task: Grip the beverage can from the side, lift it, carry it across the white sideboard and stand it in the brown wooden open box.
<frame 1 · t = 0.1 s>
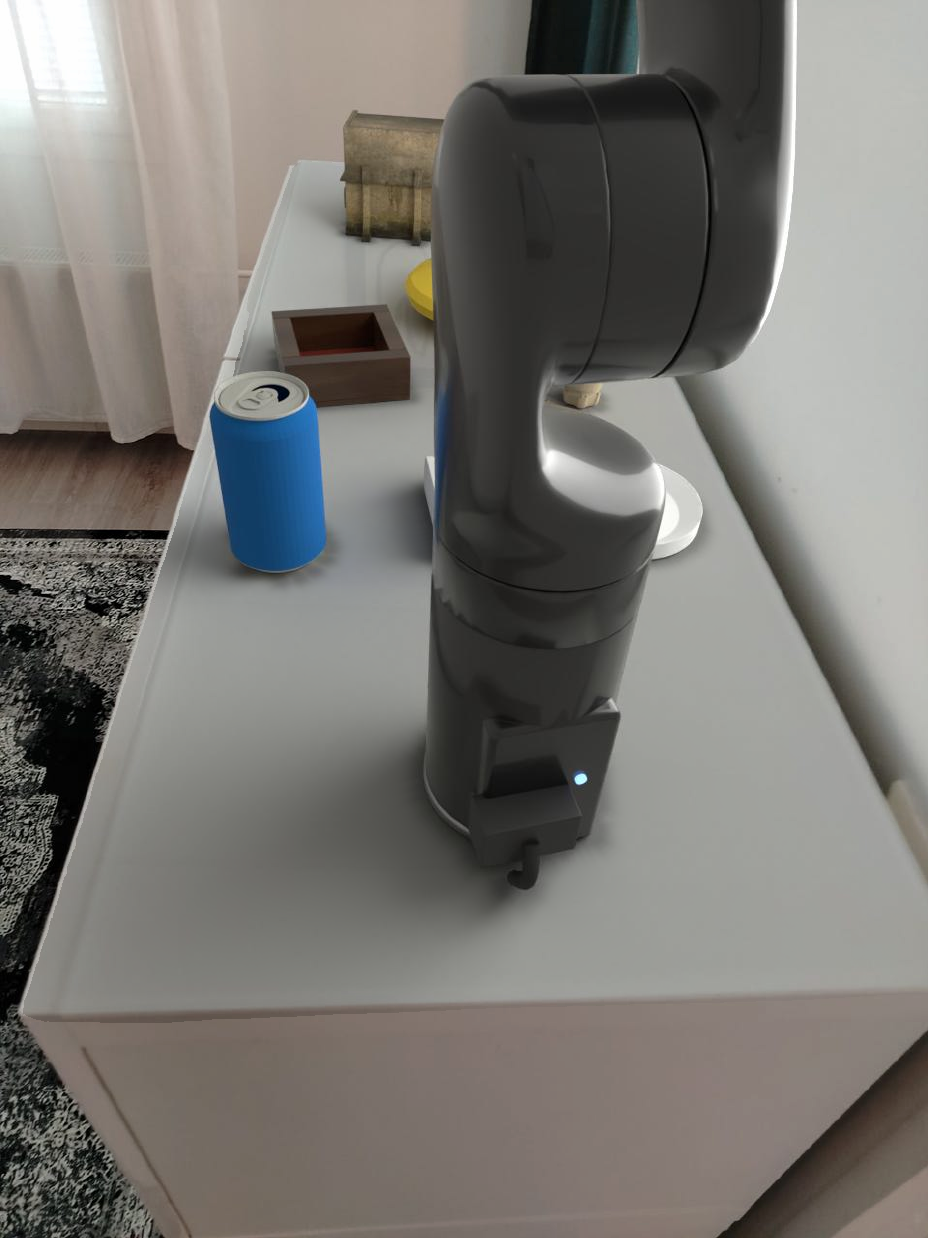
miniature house: (407, 223, 110), on the cabinet
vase: (482, 317, 91), on the cabinet
brown wooden open box: (340, 375, 81), on the cabinet
white flat rounded piece: (565, 518, 67), on the cabinet
beverage can: (279, 552, 62), on the cabinet
handle: (579, 402, 79), on the cabinet
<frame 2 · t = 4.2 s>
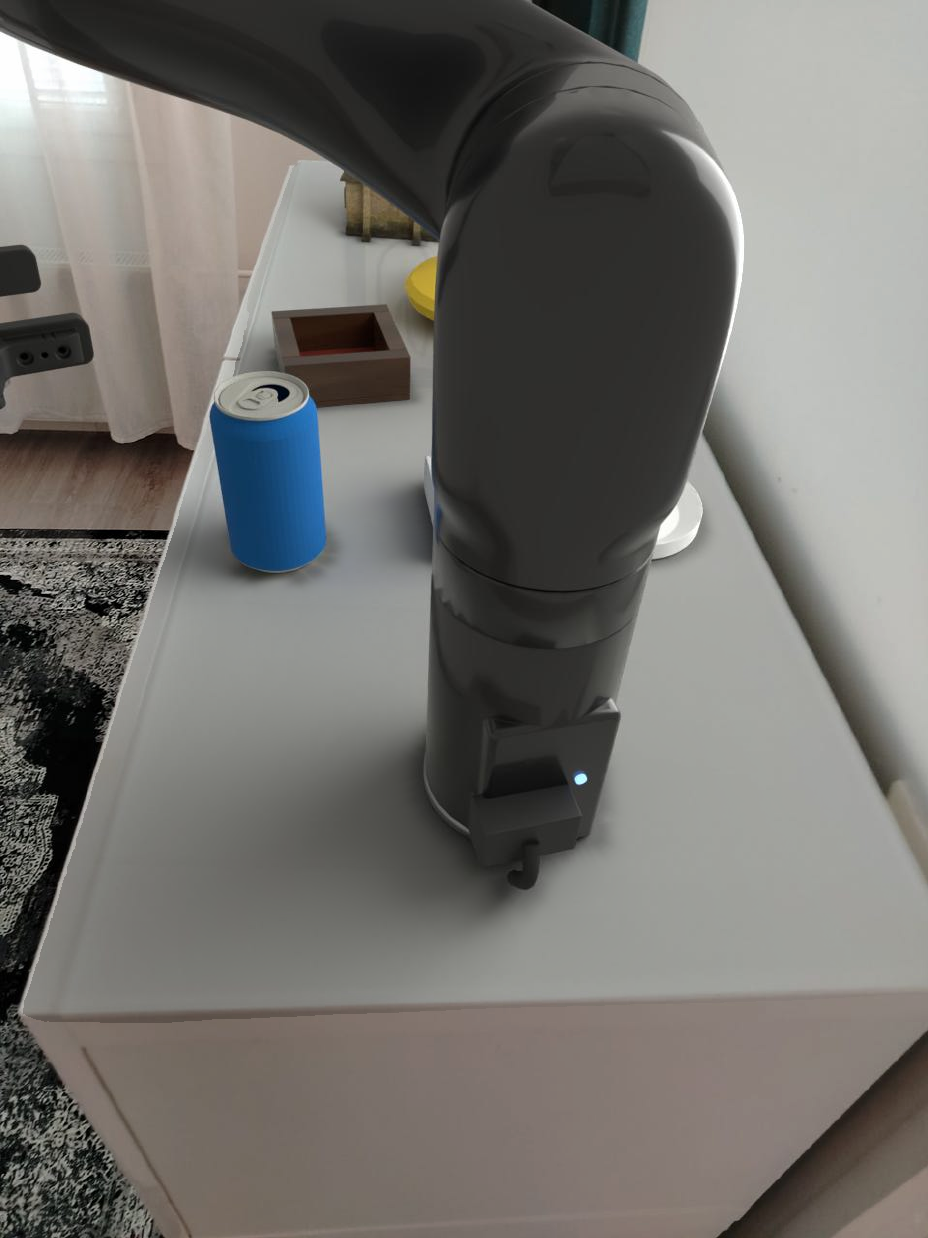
hand: (61, 300, 44), 20 cm above the cabinet, tool horizontal, fingers open, 8 cm apart
nothing on the cabinet moved.
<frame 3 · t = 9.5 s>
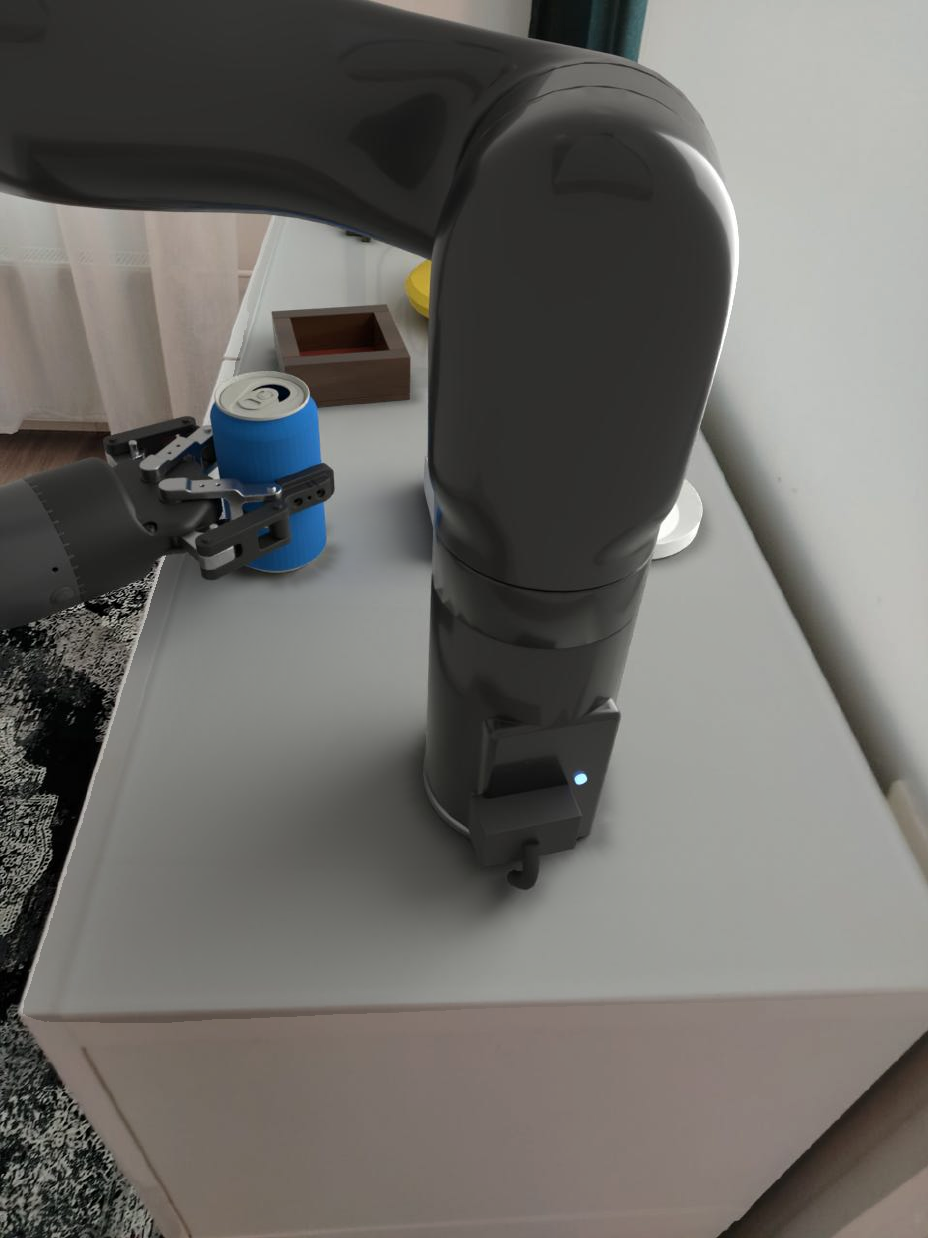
hand: (300, 452, 58), 7 cm above the cabinet, tool horizontal, fingers closed on beverage can, 6 cm apart
beverage can: (279, 552, 62), on the cabinet, touching gripper
everything else where it was.
when the fingers open (8 cm above the cabinet, at t = 18.7 s): beverage can stays where it is, resting on brown wooden open box.
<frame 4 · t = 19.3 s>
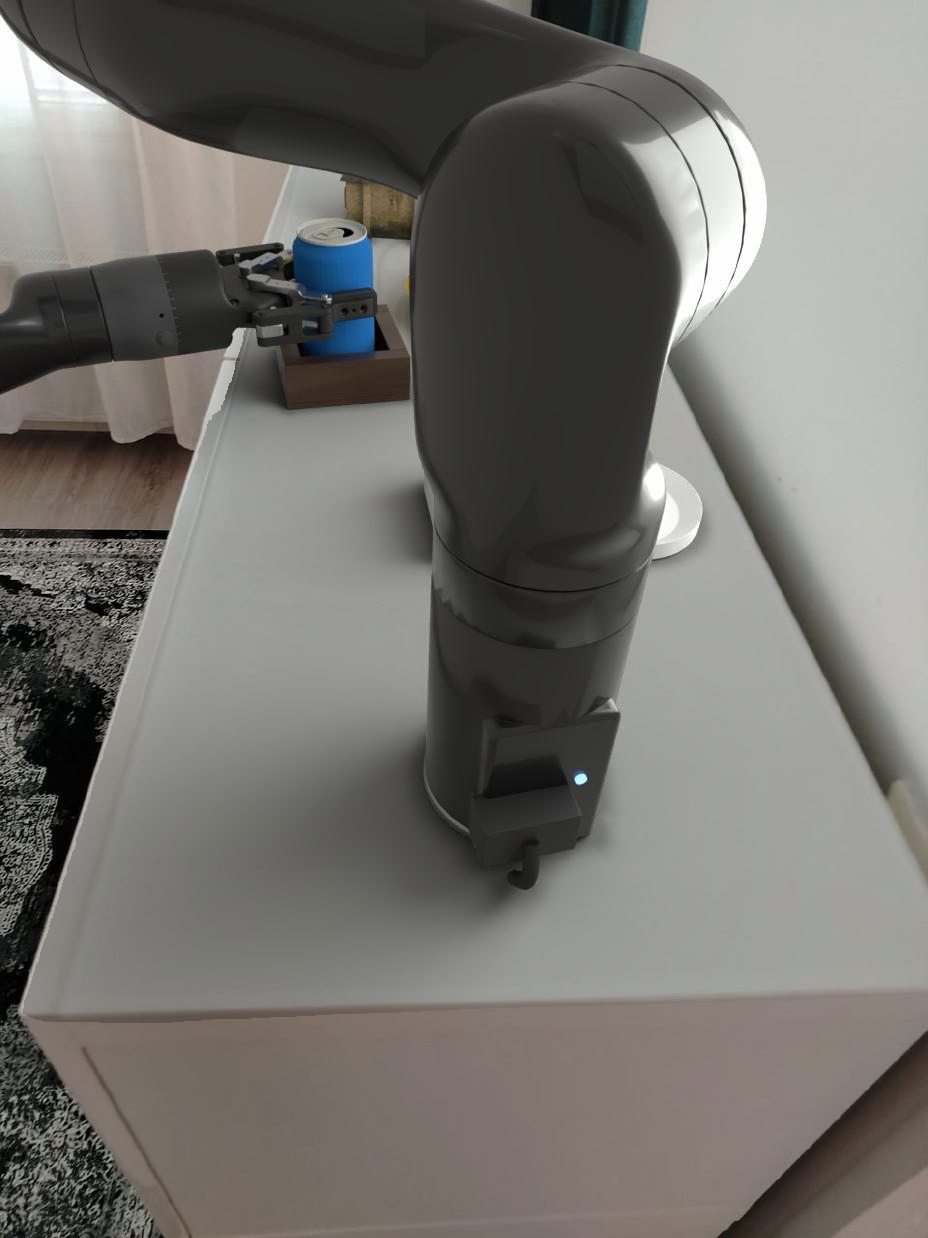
hand: (358, 280, 76), 8 cm above the cabinet, tool horizontal, fingers open, 8 cm apart
beverage can: (338, 370, 80), point 1 cm above the cabinet, touching brown wooden open box
everything else where it was.
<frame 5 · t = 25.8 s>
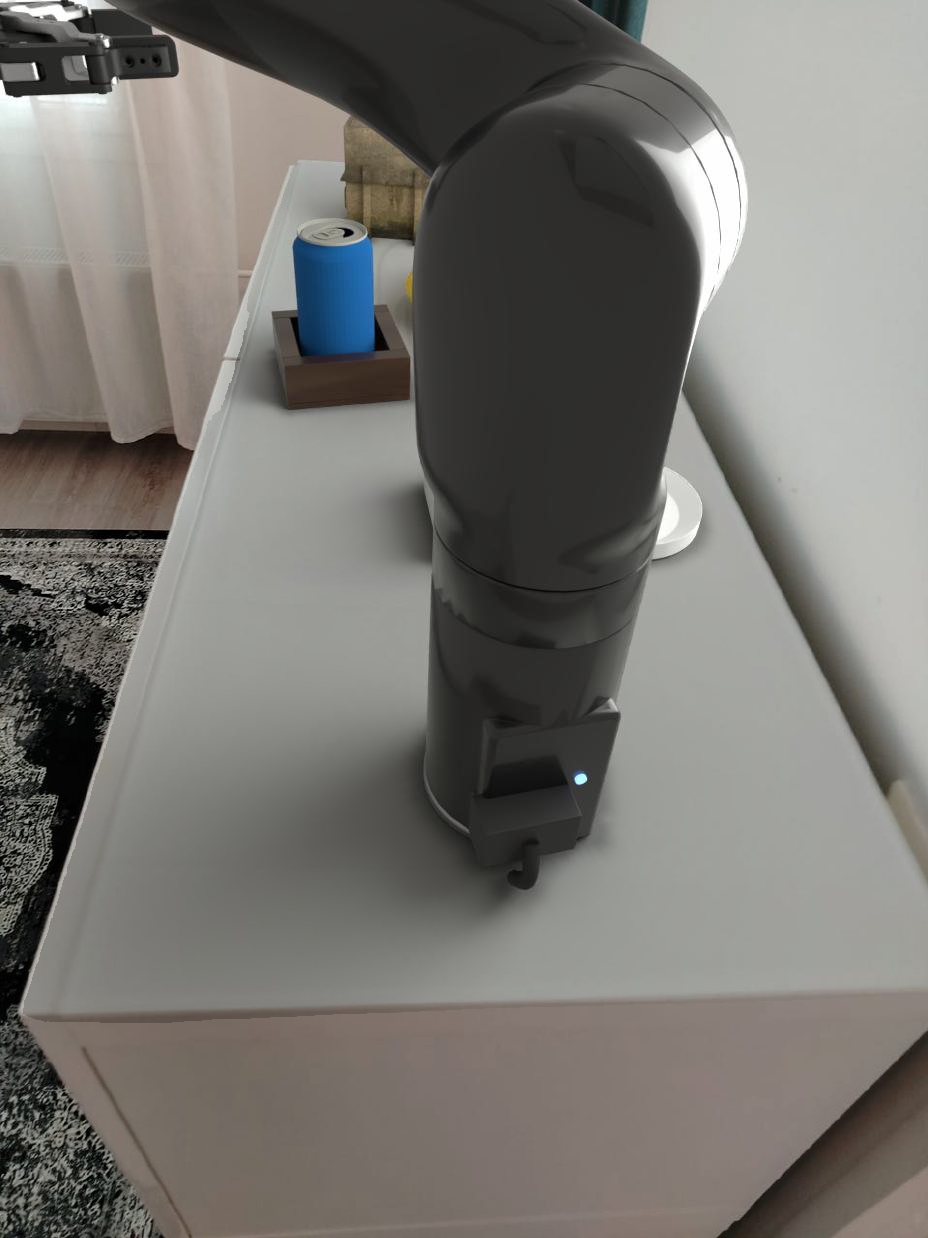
hand: (163, 40, 59), 26 cm above the cabinet, tool horizontal, fingers open, 8 cm apart
nothing on the cabinet moved.
at the end: beverage can 0.2 cm off-centre in the brown wooden open box, point 0.5 cm above the brown wooden open box's base; beverage can tilted 0°; the gripper is holding nothing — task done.
